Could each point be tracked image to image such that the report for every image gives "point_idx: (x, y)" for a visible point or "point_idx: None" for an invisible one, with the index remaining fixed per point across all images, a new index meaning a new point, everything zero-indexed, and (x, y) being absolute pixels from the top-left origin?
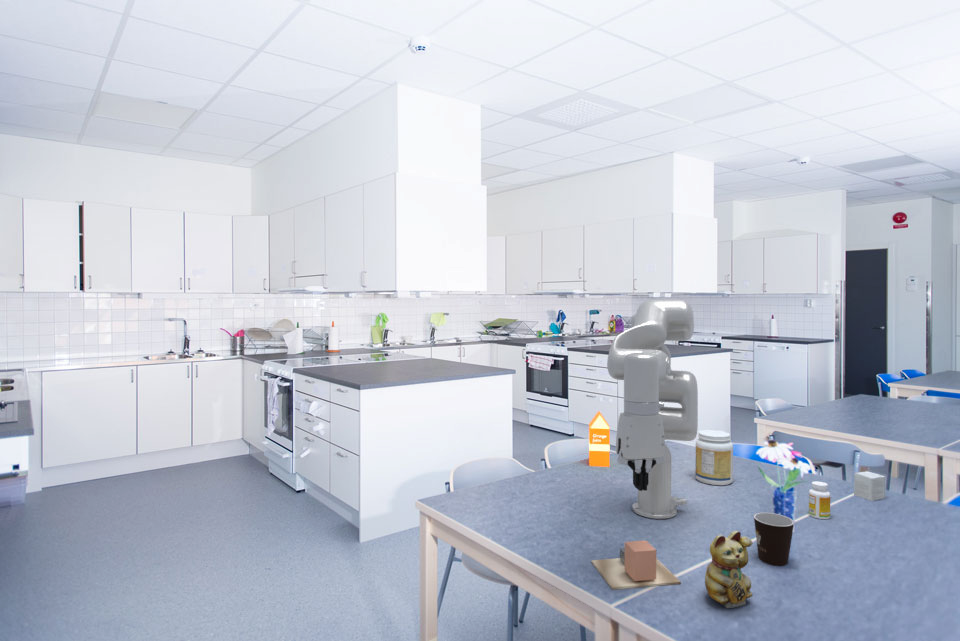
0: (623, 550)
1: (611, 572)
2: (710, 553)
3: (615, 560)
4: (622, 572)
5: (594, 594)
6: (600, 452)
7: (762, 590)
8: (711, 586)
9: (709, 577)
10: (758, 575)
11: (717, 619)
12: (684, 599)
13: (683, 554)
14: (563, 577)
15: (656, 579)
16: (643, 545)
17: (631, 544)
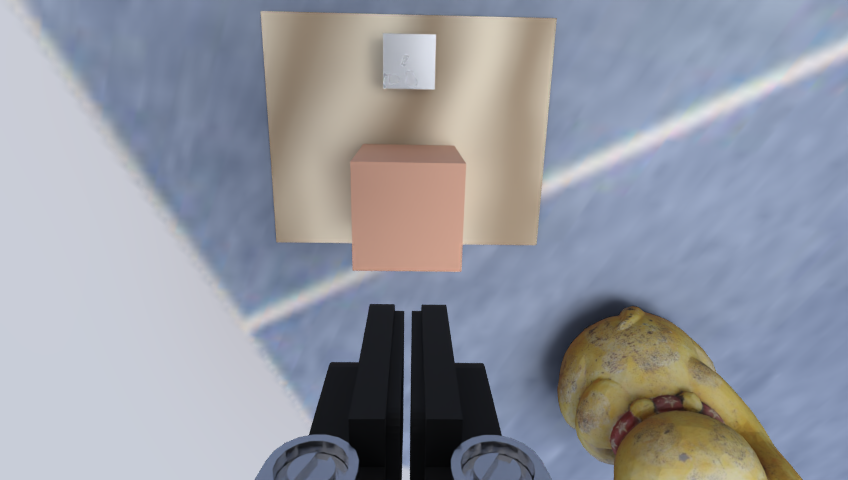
0: (390, 60)
1: (311, 135)
2: (620, 450)
3: (367, 32)
4: (355, 142)
5: (207, 257)
6: None
7: (766, 320)
8: (562, 411)
9: (578, 401)
10: (840, 232)
11: (519, 430)
12: (489, 329)
13: (698, 11)
14: (115, 121)
15: None
16: (425, 216)
17: (371, 197)
